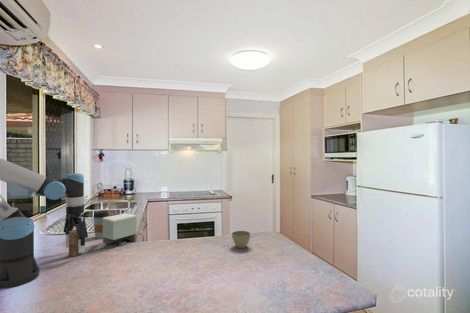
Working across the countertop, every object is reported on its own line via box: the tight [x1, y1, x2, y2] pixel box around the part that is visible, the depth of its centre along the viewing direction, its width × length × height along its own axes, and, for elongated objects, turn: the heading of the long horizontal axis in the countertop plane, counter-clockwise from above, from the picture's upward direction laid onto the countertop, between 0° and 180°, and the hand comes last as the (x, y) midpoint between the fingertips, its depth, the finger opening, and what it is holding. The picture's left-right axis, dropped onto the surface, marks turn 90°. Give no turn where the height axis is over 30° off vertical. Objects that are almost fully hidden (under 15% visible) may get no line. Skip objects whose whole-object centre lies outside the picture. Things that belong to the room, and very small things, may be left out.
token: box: [116, 239, 128, 246], centre depth 145 cm, size 5×5×2 cm
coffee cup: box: [93, 210, 110, 240], centre depth 157 cm, size 8×8×15 cm
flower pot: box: [231, 230, 251, 249], centre depth 141 cm, size 10×10×7 cm
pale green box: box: [102, 212, 138, 246], centre depth 146 cm, size 14×11×15 cm
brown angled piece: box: [68, 229, 107, 258], centre depth 134 cm, size 17×4×12 cm, turn 146°
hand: (75, 249), depth 129 cm, fingers open, 12 cm apart
